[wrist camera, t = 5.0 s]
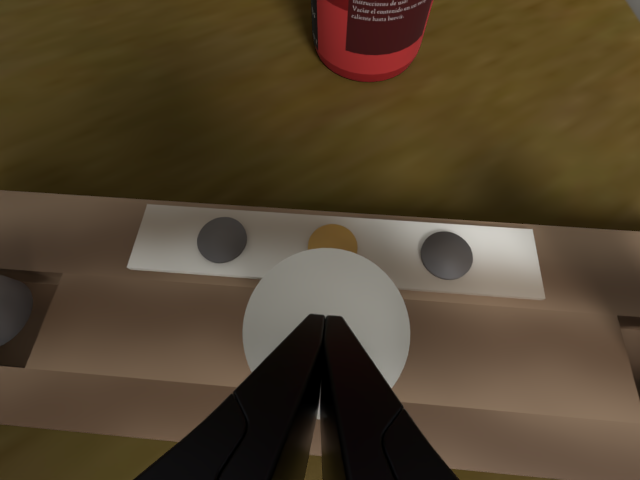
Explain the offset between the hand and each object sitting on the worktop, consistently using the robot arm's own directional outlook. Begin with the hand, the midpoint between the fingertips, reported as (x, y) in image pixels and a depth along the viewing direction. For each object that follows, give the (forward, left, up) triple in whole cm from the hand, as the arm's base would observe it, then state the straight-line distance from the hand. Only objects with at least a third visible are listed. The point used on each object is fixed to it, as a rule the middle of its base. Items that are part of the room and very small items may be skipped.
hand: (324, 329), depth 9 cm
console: (0, 0, -8) cm, 8 cm away
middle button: (0, 0, -8) cm, 8 cm away
